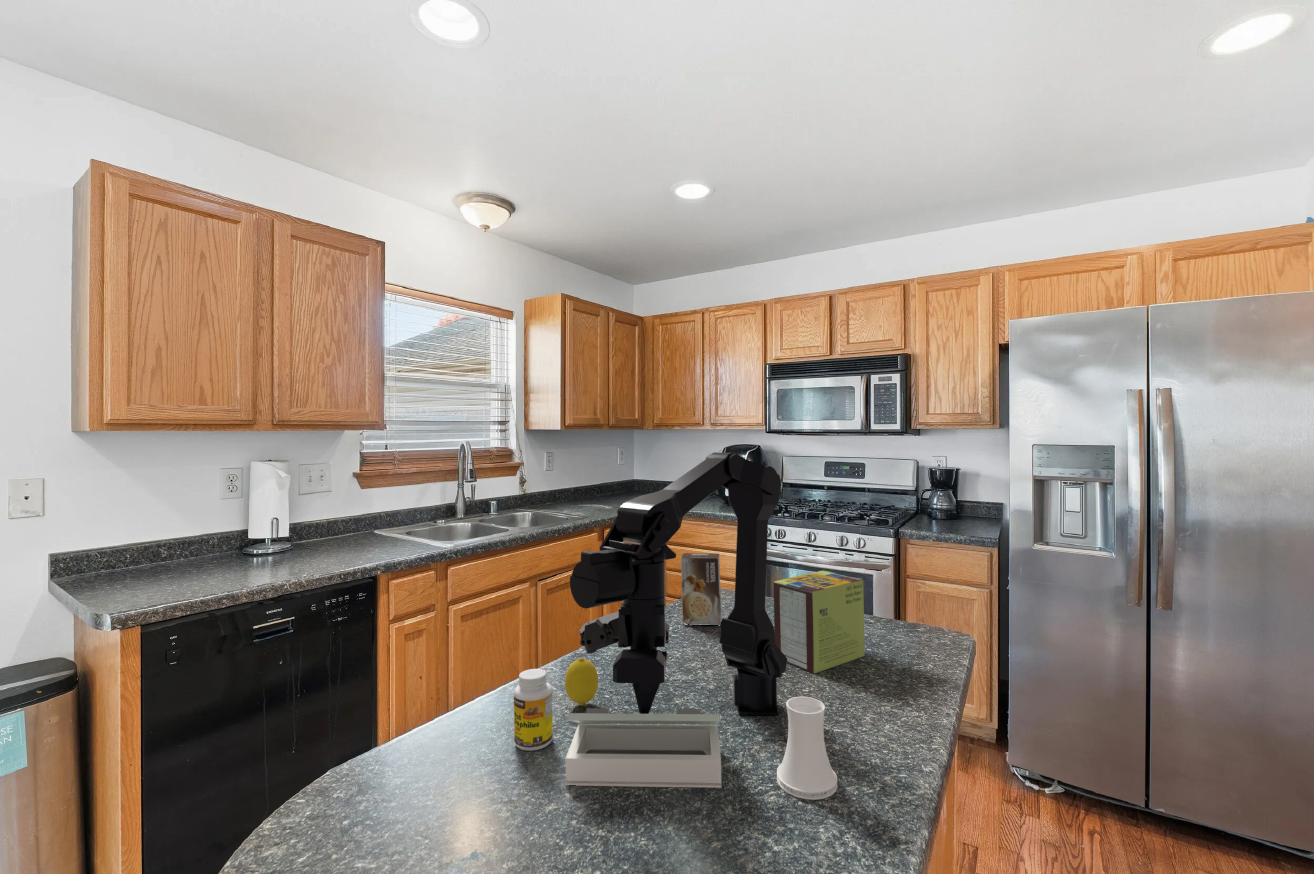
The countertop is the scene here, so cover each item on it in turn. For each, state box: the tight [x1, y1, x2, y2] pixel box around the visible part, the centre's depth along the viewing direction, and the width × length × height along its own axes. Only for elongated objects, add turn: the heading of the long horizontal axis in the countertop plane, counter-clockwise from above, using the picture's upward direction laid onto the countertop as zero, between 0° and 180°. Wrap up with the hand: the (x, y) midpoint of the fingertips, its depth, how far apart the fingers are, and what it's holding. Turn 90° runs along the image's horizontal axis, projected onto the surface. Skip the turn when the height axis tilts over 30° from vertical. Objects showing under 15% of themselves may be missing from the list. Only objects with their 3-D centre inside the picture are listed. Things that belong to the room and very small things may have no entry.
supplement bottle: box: [513, 668, 554, 752], centre depth 87 cm, size 6×6×10 cm
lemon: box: [564, 657, 599, 707], centre depth 99 cm, size 6×6×8 cm
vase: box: [776, 696, 838, 801], centre depth 76 cm, size 8×8×10 cm
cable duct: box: [565, 723, 722, 789], centre depth 80 cm, size 20×9×4 cm, turn 87°
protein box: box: [772, 570, 866, 675], centre depth 118 cm, size 10×15×16 cm
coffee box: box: [680, 552, 723, 625], centre depth 142 cm, size 9×6×16 cm
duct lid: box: [566, 707, 721, 725], centre depth 81 cm, size 20×9×1 cm, turn 87°
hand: (644, 713), depth 79 cm, fingers closed
